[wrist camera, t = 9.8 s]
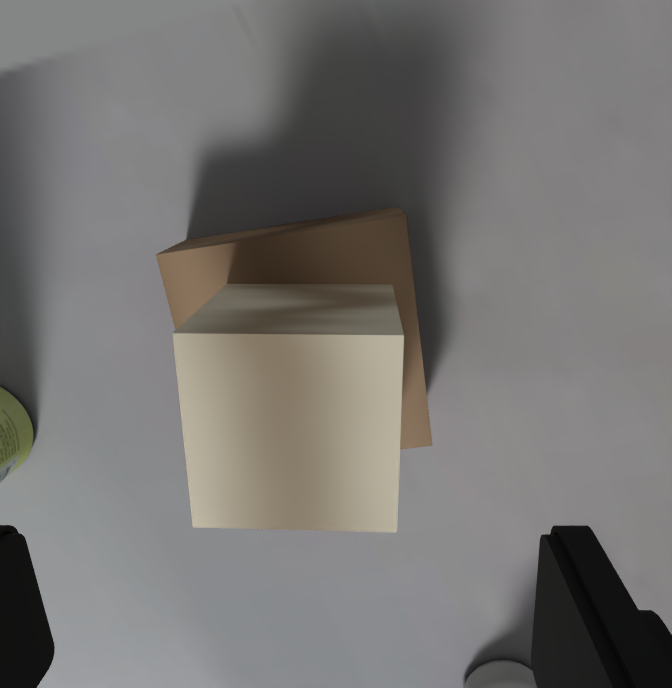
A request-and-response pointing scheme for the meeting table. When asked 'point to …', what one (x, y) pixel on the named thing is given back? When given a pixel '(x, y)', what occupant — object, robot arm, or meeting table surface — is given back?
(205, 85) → the meeting table surface
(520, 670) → the rook chess piece
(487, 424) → the meeting table surface
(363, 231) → the walnut block
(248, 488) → the birch block
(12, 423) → the tube
